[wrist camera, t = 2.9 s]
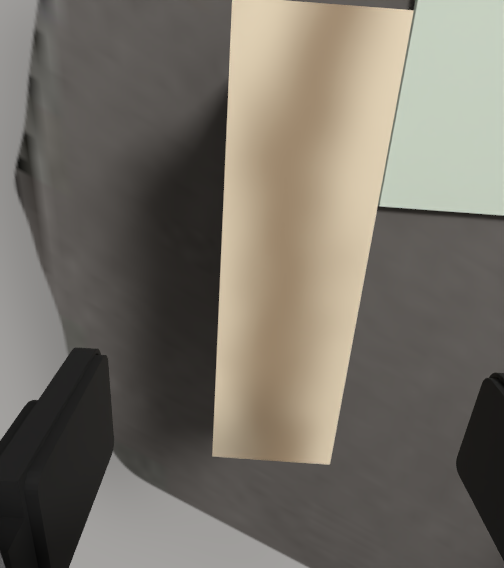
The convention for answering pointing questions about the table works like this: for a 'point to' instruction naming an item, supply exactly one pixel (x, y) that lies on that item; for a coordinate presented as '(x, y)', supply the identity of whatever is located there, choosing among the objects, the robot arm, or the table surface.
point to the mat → (450, 111)
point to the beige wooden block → (298, 215)
